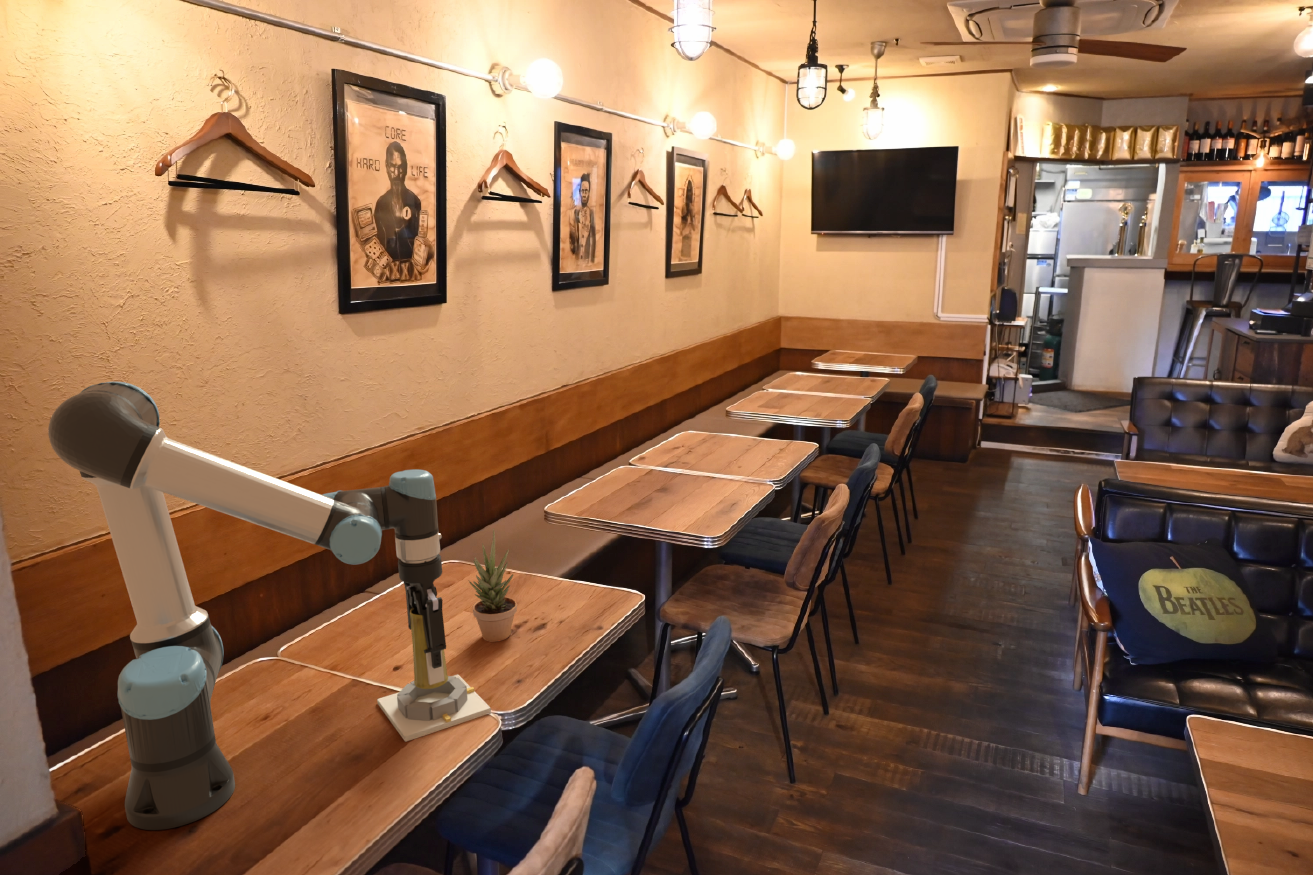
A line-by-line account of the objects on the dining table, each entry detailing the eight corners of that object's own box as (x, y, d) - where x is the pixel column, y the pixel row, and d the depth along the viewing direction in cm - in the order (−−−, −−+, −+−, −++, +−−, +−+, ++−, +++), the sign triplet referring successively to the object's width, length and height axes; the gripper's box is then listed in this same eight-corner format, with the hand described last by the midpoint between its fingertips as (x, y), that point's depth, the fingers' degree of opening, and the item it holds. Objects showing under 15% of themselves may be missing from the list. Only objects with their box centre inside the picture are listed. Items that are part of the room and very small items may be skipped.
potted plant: (510, 646, 187) (503, 536, 182) (468, 644, 188) (459, 535, 183) (525, 626, 197) (518, 521, 191) (484, 624, 198) (476, 520, 193)
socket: (405, 741, 152) (403, 723, 151) (377, 703, 165) (375, 686, 164) (491, 712, 161) (489, 695, 160) (458, 678, 174) (457, 662, 173)
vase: (439, 690, 158) (432, 617, 155) (408, 688, 159) (400, 615, 156) (453, 674, 164) (447, 603, 161) (423, 672, 165) (416, 601, 162)
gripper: (458, 566, 151) (469, 689, 156) (421, 538, 166) (432, 650, 171) (416, 576, 147) (428, 702, 152) (382, 546, 162) (394, 661, 167)
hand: (430, 674), depth 161 cm, fingers closed on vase, 6 cm apart
